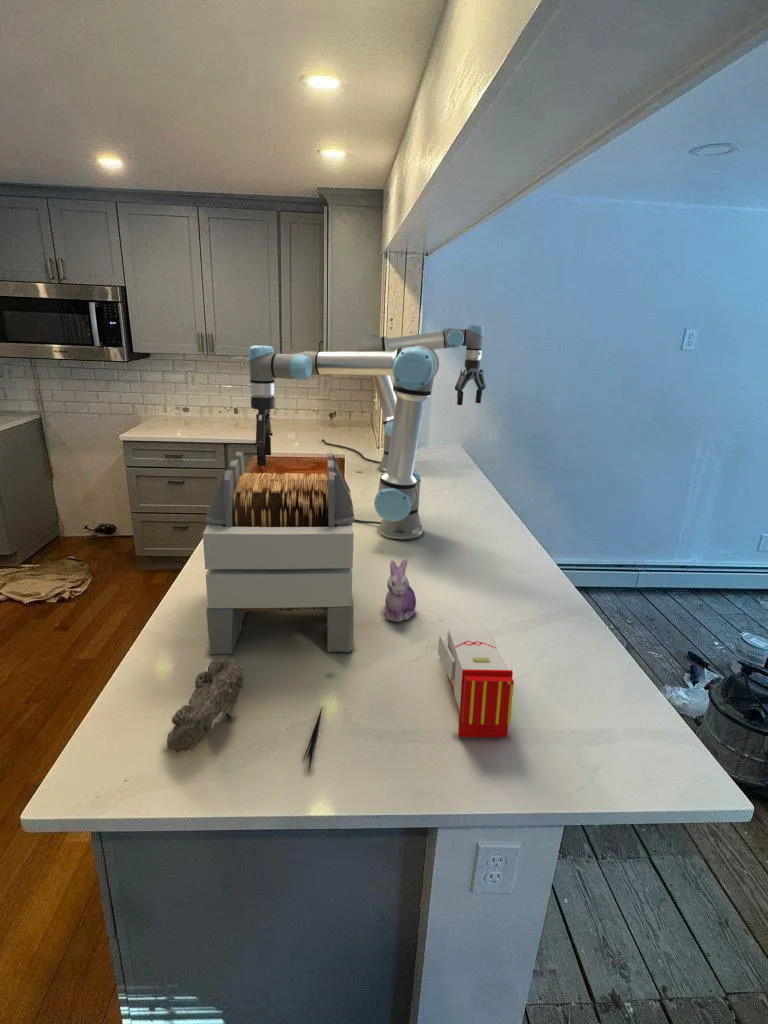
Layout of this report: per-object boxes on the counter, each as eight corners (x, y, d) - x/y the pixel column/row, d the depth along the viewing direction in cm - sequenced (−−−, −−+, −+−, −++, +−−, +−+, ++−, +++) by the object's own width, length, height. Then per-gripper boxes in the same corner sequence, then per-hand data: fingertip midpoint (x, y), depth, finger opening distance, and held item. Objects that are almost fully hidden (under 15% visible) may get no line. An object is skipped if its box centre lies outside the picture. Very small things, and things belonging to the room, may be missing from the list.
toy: (488, 613, 130) (523, 677, 101) (484, 667, 133) (517, 744, 104) (435, 612, 130) (455, 676, 101) (432, 666, 133) (451, 743, 103)
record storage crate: (229, 585, 158) (221, 442, 144) (346, 584, 161) (350, 444, 148) (206, 656, 126) (193, 481, 112) (353, 652, 130) (358, 483, 116)
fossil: (192, 660, 117) (244, 628, 112) (224, 691, 120) (276, 661, 115) (142, 746, 98) (202, 712, 93) (182, 779, 101) (242, 748, 96)
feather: (331, 679, 122) (336, 673, 122) (307, 777, 96) (313, 769, 95) (324, 675, 122) (329, 669, 121) (298, 772, 95) (304, 764, 95)
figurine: (392, 627, 141) (395, 572, 136) (374, 608, 149) (376, 556, 144) (425, 619, 145) (429, 566, 140) (405, 601, 154) (408, 550, 149)
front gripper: (256, 390, 193) (258, 450, 200) (244, 401, 170) (247, 470, 177) (278, 390, 194) (279, 451, 201) (269, 402, 170) (271, 470, 177)
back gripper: (461, 360, 260) (457, 407, 267) (495, 359, 276) (491, 403, 283) (449, 359, 265) (445, 404, 273) (483, 358, 281) (479, 401, 288)
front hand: (264, 460), depth 189 cm, fingers open, 13 cm apart
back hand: (468, 404), depth 278 cm, fingers open, 13 cm apart
